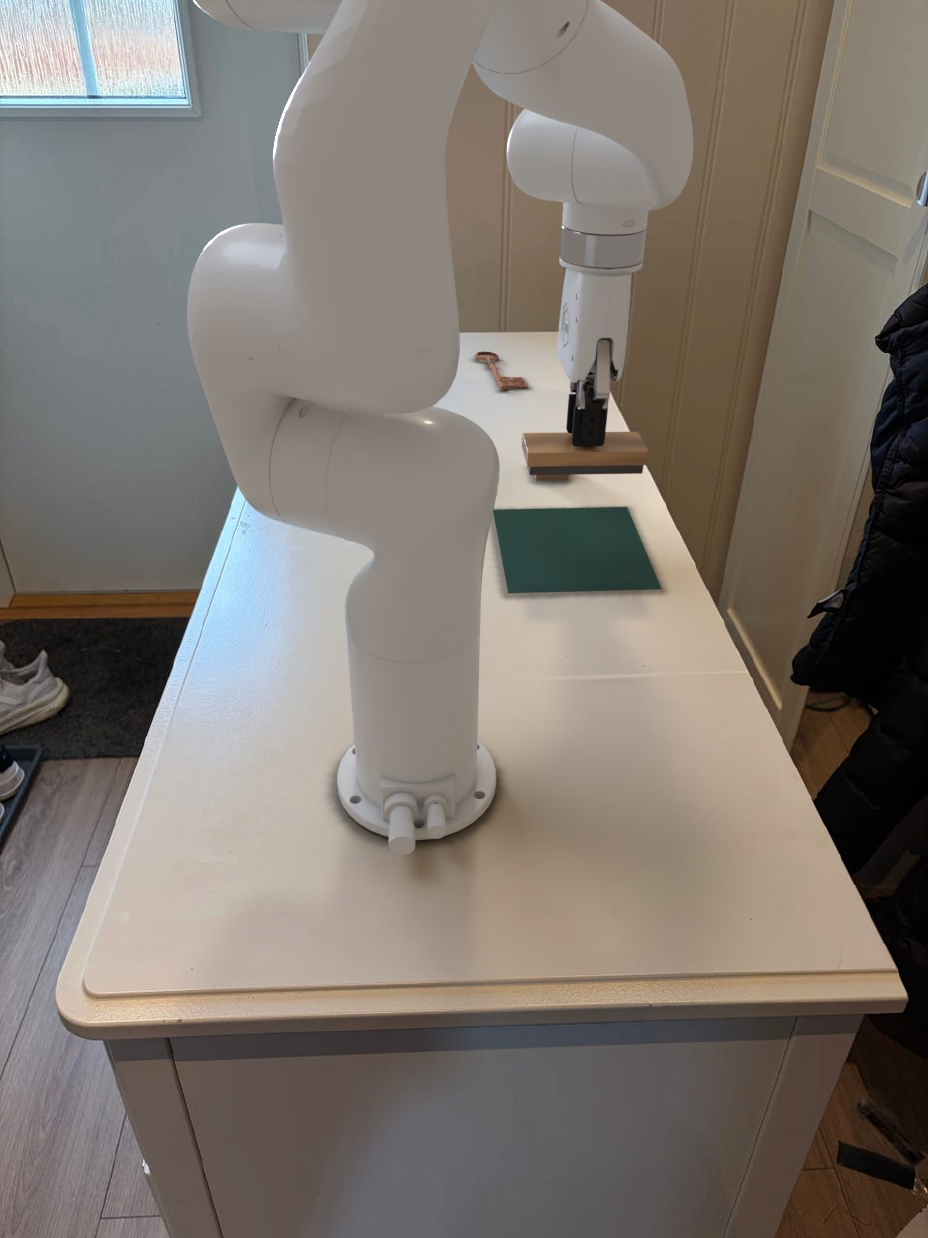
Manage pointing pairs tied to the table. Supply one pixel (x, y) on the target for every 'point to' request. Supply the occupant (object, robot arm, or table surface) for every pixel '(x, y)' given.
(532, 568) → the mat
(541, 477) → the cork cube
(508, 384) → the key
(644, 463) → the brush
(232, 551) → the table surface
